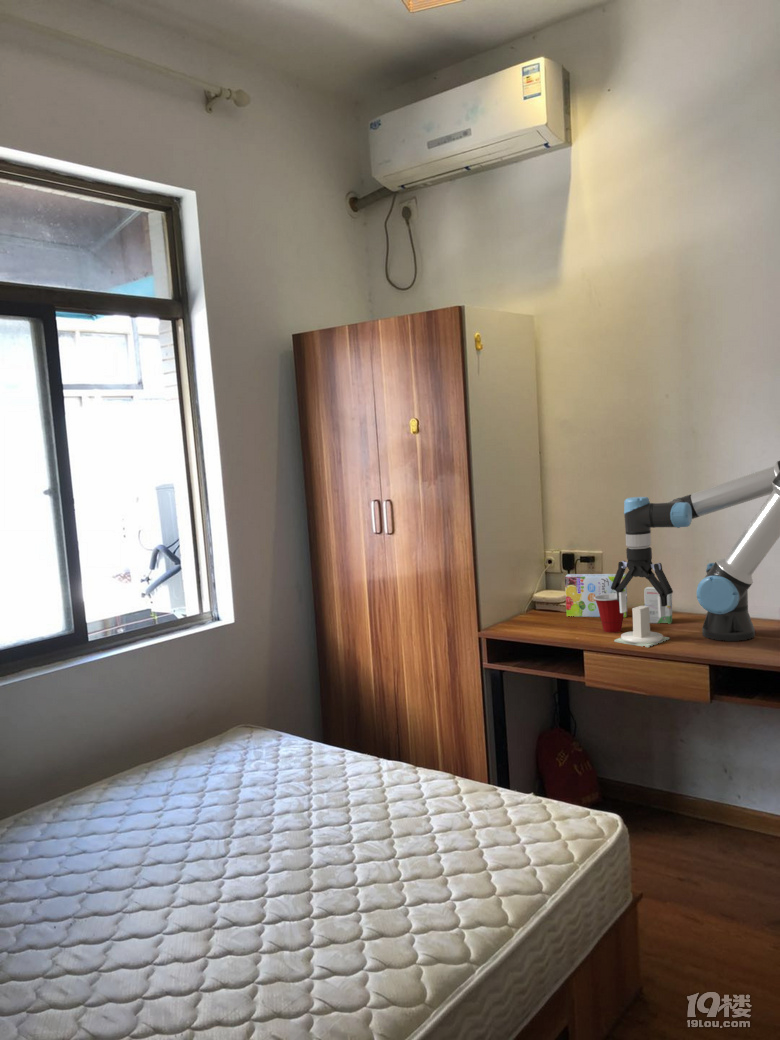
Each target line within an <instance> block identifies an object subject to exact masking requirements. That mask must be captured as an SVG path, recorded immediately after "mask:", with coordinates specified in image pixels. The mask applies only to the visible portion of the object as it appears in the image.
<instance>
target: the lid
mask: <svg viewBox="0 0 780 1040" xmlns="http://www.w3.org/2000/svg"><path fill="white" fill-rule="evenodd" d="M631 611H632V631H627V632H623V633H621V635H620V638H621V640H623V641H625V642H628V643H635V644H650V643H657V642H660V641H662V640H663V637H664V634H662V633H660V632H656V631H651V623H650V615H649V606H645V605H639V606H636V607H633V608H632V609H631Z"/></svg>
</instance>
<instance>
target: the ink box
mask: <svg viewBox="0 0 780 1040" xmlns="http://www.w3.org/2000/svg"><path fill="white" fill-rule="evenodd" d="M643 590H644V591H643V593H644V596H643V597H644V606H649V615H650V624H660V623H668V624H669V625H670V624H672V623H673V593H671V594H668V595H667V606H665V615H666V616H664V617H659V615H658V596H660V594H659V593H658V592H657V591H656V589H655V588H654V587H653V586H646V587H645V588H644V589H643ZM668 624H667V625H668Z"/></svg>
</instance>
